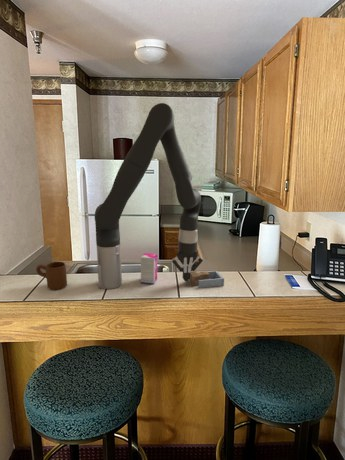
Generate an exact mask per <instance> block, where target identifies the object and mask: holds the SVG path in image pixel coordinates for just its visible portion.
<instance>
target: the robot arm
mask: <svg viewBox="0 0 345 460" xmlns="http://www.w3.org/2000/svg"><path fill="white" fill-rule="evenodd" d="M148 112H149V113H148V114H147V117H146V120H145V122H144V124H143V127H142V129H141V131H140V133H139V135H138V136H137V138H136V140H135V141H134V143H133V144H132V146H131V148H130V149H129V150H128V152H127V154H126V155H125V157H124V159H123V161H122V163H121V165H120V166H119V169H118V171H117V173H116V176H115V178H114V181H113V182H112V183H113V184H112V187H111V189H110V191H109V193H108V195H107V197H105V200H104V201H103V203H101V204H98V206H97V207H96V209H95V211H94V222H95V224H94V225H95V243H96V244H95V245H96V259H97V260H96V261H97V277H98V278H97V281H98V289H105V290H112V289H113V290H114V289H116V288H119V287H121V286H122V284H123V279H122V256H121V254H122V253H121V233H120V220H121V217H122V214H123V212H124V210H125V207H126V205H127V203H128V201H129V200H130V198H131V196H132V195H133V194H134V192H135V190H136V189H137V188H138V186H139V185H140V183H141V182H142V180H143V178H144V176H145V174H146V172H147V170H148V168H149V166H150V164H151V162H152V160H153V157H154V155H155V154H154V153H155V151H156V148H157V146H158V144H159V142H161V145H162V148H163V150H164V155H165V157H166V158H165V159H166V161H167V164H168V167H169V171H170V174H171V176H172V179H173V182H174V187H175V193H176V194H175V195H176V198H177V201H178V204H179V205H180V207H182V208H183V211H182V213H181V215H180V218H179V231H178V236H177V238H178V241H177V242H178V247H177V248H178V249H177V254H176V256H175V257H172V258H171V262H172V263H173V265H174V266H175V267H176V268H177V270H178V271H179V272H180V273H181V272H182V280H184V282H189V279H190V272H193V271H196V270H197V268H198V267H199V266H200V264H202V263H203V258H202V257H200V256H199V254H198V241H199V239H198V237H199V234H198V232H199V231H198V226H199V225H198V224H199V215H200V211H201V210H200V209H201V204H202V196H201V193H200V192H199V190H198V189H196V188H193V185H192V180H193V177H192V176H193V175H192V173H191V170H190V167H189V164H188V162H187V158H186V156H185V155H184V152H183V150H182V148H181V145H180V143H179V140H178V136H177V131H176V127H175V114H174V111H173V109H172V107H171V106H170V105H169V104H167V103H164V102H161V103H157V104H155V105H153V106H152V107H151V108H150V110H149V111H148ZM179 261H180V263H181V264H182V265H181V266H180V264H179Z"/></svg>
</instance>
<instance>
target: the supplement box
mask: <svg viewBox="0 0 345 460" xmlns="http://www.w3.org/2000/svg"><path fill="white" fill-rule="evenodd" d="M157 280H158V254H157V253H149V252H148V253H147V252H145V253H143V255H141V257H140V284H144V285H145V284H146V285H155V283H156V281H157Z"/></svg>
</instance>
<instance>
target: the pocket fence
mask: <svg viewBox="0 0 345 460" xmlns="http://www.w3.org/2000/svg"><path fill="white" fill-rule="evenodd" d="M205 272H208V273H209V274H210V278H209V279H206V280H199V286H198V288H199V289H201V288H203V289H204V288H212V287H222V286H225V277H223V276H222V275H221V273H220V272H219V271H218V270H209V271H208V270H207V271H205Z"/></svg>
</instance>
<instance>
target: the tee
mask: <svg viewBox="0 0 345 460" xmlns="http://www.w3.org/2000/svg"><path fill="white" fill-rule="evenodd" d="M206 279H211V278H210V274H209V273H208V272H206V271H196V270H195V271H191V272H190V279H189V280H188V282H189V283H190V284H191V286H192V287H197V286H198V287H199V280H206Z"/></svg>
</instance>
